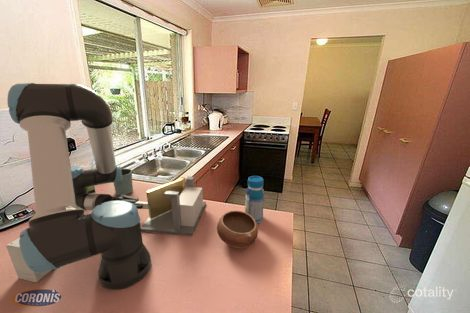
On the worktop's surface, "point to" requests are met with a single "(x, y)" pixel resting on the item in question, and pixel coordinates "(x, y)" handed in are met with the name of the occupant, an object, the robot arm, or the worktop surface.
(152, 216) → the tan rectangular upright panel
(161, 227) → the base
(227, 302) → the worktop surface
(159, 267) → the worktop surface
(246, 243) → the bowl
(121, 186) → the drinking glass
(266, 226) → the worktop surface
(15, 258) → the supplement box
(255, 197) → the beverage bottle
